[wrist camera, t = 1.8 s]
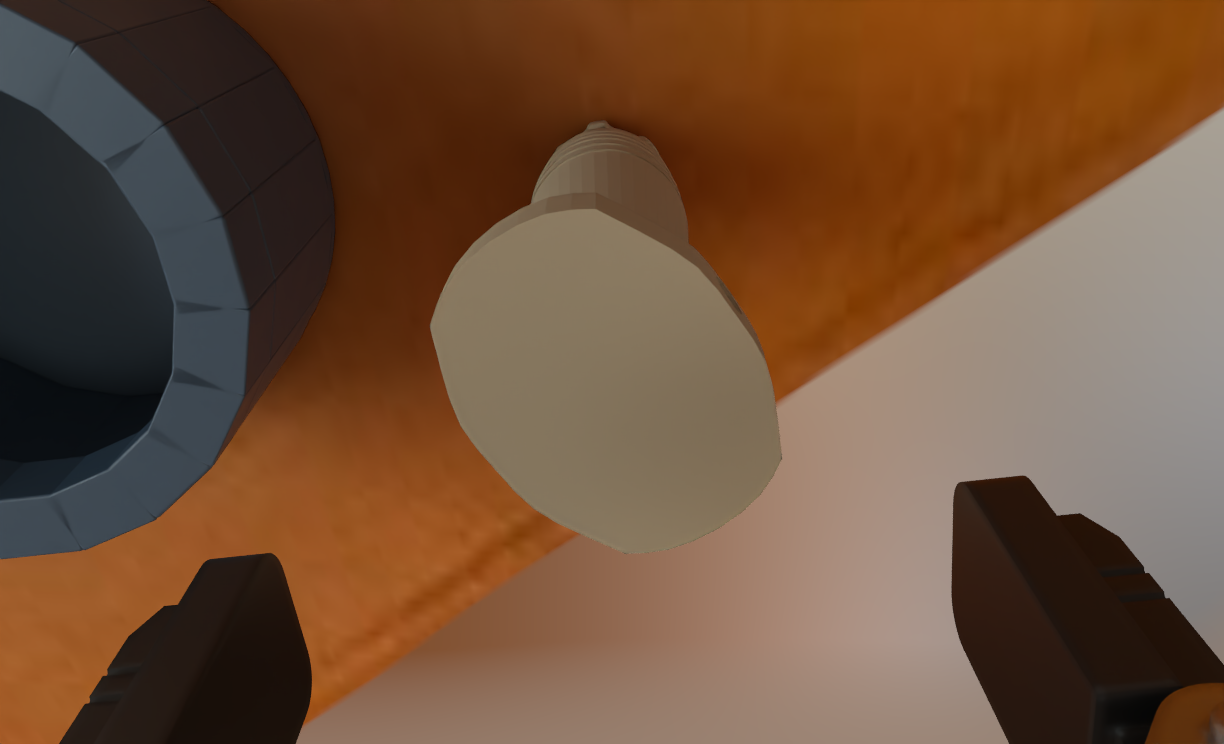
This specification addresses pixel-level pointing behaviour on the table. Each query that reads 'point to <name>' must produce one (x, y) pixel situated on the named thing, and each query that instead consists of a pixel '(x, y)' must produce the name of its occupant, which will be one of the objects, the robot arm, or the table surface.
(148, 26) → the jar
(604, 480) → the handle
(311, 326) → the table surface
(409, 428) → the table surface
